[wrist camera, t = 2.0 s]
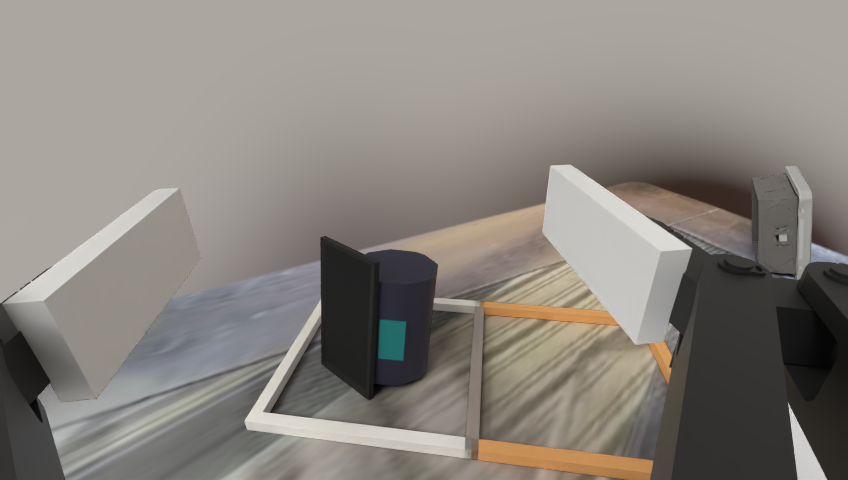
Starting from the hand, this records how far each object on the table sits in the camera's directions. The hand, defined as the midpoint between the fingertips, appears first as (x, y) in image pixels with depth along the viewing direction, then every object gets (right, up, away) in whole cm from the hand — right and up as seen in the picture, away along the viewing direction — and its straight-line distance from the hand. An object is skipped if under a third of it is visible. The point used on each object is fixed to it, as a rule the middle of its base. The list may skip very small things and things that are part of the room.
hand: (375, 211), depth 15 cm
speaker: (-1, -10, +17) cm, 20 cm away
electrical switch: (+38, -3, +29) cm, 48 cm away
